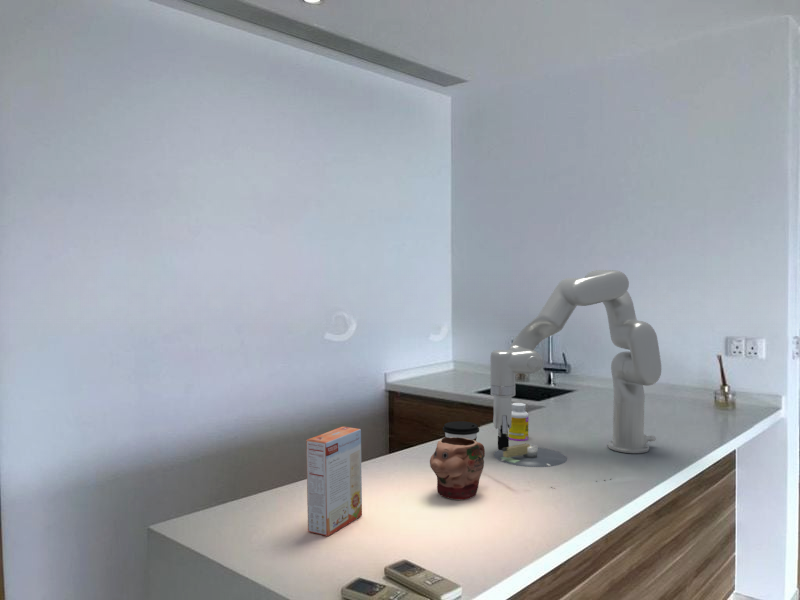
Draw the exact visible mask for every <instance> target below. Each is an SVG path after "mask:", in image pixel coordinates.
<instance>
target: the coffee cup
mask: <svg viewBox="0 0 800 600" xmlns="http://www.w3.org/2000/svg"><path fill="white" fill-rule="evenodd" d="M442 432H443V433H444V435H445V436H444V438H445V437H449V438H450V437H458V438H467V439H471V440H475V441H477V437H478V436H477V434H478V433H479V432H480V428H479V425H478V424H476V423H475V422H471V421H465V420H464V421H463V420H462V421H461V420H457V421H448V422H446V423H444V426H442Z"/></svg>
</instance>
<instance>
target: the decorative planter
mask: <svg viewBox="0 0 800 600" xmlns="http://www.w3.org/2000/svg"><path fill="white" fill-rule="evenodd" d="M485 455H486V450H485V446H484V444H483V443H481V442H478V441H477V440H476V441H475V440H471V439H467V438H458V437H450V438H449V437H445V436H444V437H443V438H441V439H440V440H438V441H437V443H436V448H435V451H434V452H433V454H432V455H431V456H430V459H429V465H430V469H431V470H432V472H433V473H434V474H435V476H436V481H437V482H436V483H437V484H436V491H437V494H438V495H439V496H441V497H444V498H446V499H450V500H458V501H461V500H463V501H464V500H468V499H473V498H474V497H475V496H476V495H477V492H478V489H479V484H480V478H481V475H482V472H483V470H484V465H485V461H484V460H485V459H484V458H485Z"/></svg>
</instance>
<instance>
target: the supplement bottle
mask: <svg viewBox="0 0 800 600" xmlns="http://www.w3.org/2000/svg"><path fill="white" fill-rule="evenodd" d="M508 437H509V441H510V440H511V441H516V442H522V441H523V442H525V441H528V440H529V413H528V412H527V411H526V403H523V402H514V403H512V420H511V428H510V429H509V428H508Z"/></svg>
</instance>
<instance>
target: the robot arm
mask: <svg viewBox="0 0 800 600" xmlns="http://www.w3.org/2000/svg"><path fill="white" fill-rule="evenodd" d="M627 276H628V275H626V274H625V273H624V272H622V271H621V270H613V269H612V270H611V269H608V270H606V269H605V270H604V269H598V270H597V269H596V270H595V269H594V270H591V271H590V272H588V273H586V274H585V277H567V278H563V279H561V280H560V281H559V282H558V283H557V285H556V286H555V288H554V289H553V290H552V293H551V294H550V296H549V297H548V299H547V300H546V301H545V304H544V306H543V307H542V308H541V310H540V312H539V313H537V316H536V317H534V318H533V319H531V321H530V322H529V323H528V324H527V325H526V326H525V327H523V328H522V329H521V330H520V331H519V332H518V334H517V335H516V337H515V338H514V339H513V342H511V344H510V346H509V348H508V349H496V350H493V351H492V352H490V396H492V397H493V411H492V413H493V416H492V417H493V418H492V423H493V426H494V428H495V430H497V429H498V430H497V432H498V435H497V450H502V448H504V447H509V446H510V445H509V444H510V443H509V442H510V439H509V437H508V431H509V429H510V428H511V420H512V399H513V397H515V396H516V374H522V375H523V374H524V375H533V374H536V373H538V372H539V371H540V370H541V369H542V368H543V363H544V361H543V357H542V355H541V354H540V353H539V352H538V351H536V350H535V349H536V348H537V346H538V345H539V344H540V343H541V342H543V340H545V339H547V338H548V337H551V336H554V335H556V334H558V333H559V332H561V331H562V330H563V328H564V326H565V325H566V323H568V321H569V319H570V317H571V316H572V314H573V313H574V311H575V309H576V308H577V306H578V307H588V306H592V305H597V304H601V303H603V305H604V308H605V310H606V311H605V312H606V314H607V321H608V327H609V328H608V329H609V335H610V339H611V342H612V343H613V345H614V346H615V347H617V348H619V349H620V348H621V349H624V350H629V351H621V352H619V353H616V355H615V356H614V357H613V358H612V361H611V365H610V370H611V372H610V373H611V376H612V383H613V384H612V385H613V400H612V402H613V405H612V407H613V409H612V410H613V411H612V412H613V413H612V414H613V415H612V440H611V441H609V442H608V443H607V447H608V448H609V450H612V451H613V452H619V453H624V454H644V453H647V452H649V449H650V446H649V445H647V443H649V442H651V443H652V442H656V436H655V435H654V434H652V435H647V434H645V402H646V401H645V398H646V395H645V390H644V386H646V387H647V386H648V387H650V386H653V385H655V384H656V383H657V382H658V381H659V379H660V378H661V376H662V361H661V355H660V348H659V341H658V336H657V333H656V331H655V328H654V327H653V326H652V325H651V324H649V323H648V322H647V321H643V320H638V319H637V316H636V311H635V306H634V302H633V299H632V297H631V295H630V293H629V291H628V289H629V284H630V282H629V279H628V277H627Z"/></svg>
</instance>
